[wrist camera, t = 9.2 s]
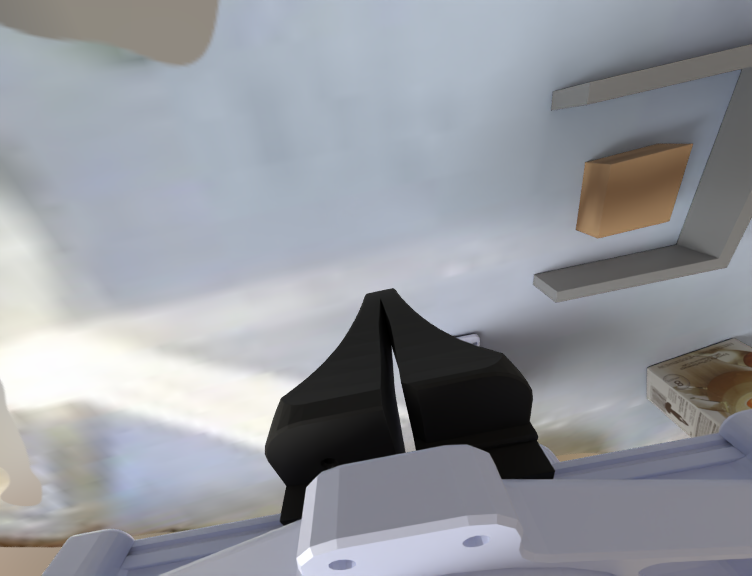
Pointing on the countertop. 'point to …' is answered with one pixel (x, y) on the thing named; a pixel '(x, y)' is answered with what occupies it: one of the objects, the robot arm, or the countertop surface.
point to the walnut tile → (631, 189)
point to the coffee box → (703, 386)
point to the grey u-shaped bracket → (713, 196)
